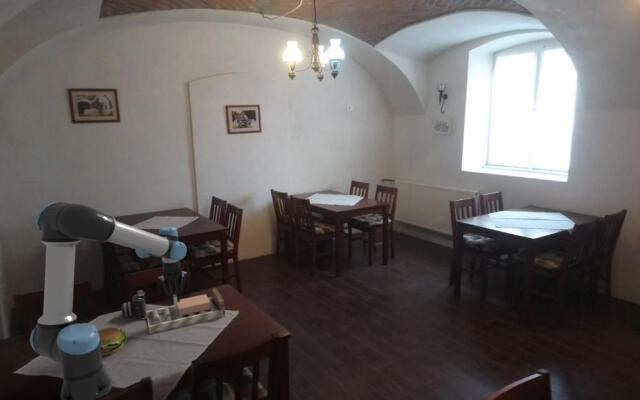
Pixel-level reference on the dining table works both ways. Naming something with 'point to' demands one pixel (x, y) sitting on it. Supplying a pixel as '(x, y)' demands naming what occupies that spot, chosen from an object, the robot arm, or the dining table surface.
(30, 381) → the dining table surface
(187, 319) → the roller bed
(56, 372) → the dining table surface
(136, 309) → the camera
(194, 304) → the slab
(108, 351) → the food
